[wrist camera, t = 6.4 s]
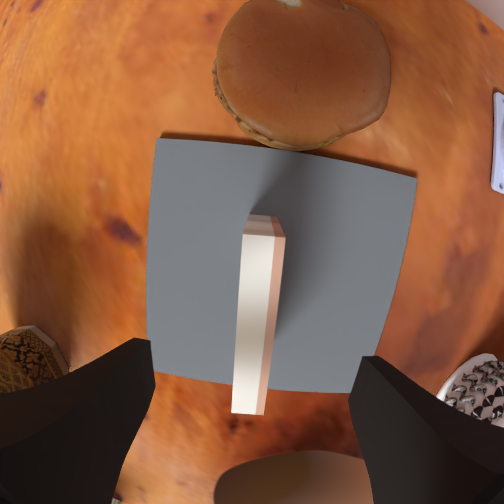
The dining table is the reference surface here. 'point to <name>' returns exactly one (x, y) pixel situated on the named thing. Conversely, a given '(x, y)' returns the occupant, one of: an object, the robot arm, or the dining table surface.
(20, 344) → the ceramic cup
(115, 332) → the dining table surface
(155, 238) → the mat
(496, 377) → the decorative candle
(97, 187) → the dining table surface
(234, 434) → the dining table surface
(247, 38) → the burger
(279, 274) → the tile
